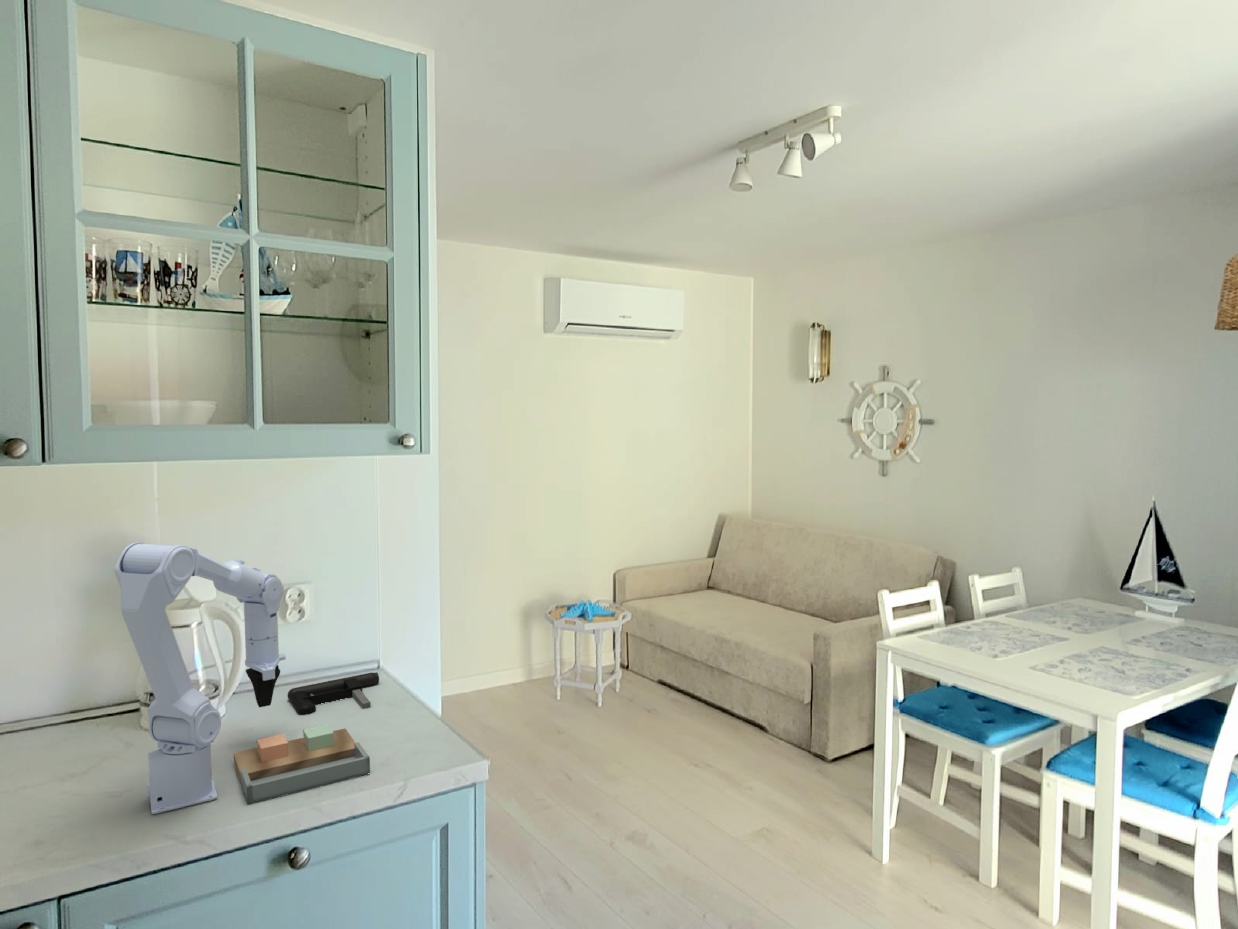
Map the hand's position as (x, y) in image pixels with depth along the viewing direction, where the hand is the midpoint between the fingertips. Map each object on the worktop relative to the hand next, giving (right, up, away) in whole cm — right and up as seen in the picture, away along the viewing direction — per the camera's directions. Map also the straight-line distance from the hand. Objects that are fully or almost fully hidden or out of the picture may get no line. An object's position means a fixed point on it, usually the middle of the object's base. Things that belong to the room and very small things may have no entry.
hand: (264, 705), depth 150 cm
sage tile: (+11, -7, -2) cm, 13 cm away
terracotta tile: (+5, -7, -7) cm, 11 cm away
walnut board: (+8, -9, -5) cm, 13 cm away
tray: (+13, -9, -12) cm, 20 cm away
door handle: (+6, -7, +25) cm, 26 cm away
